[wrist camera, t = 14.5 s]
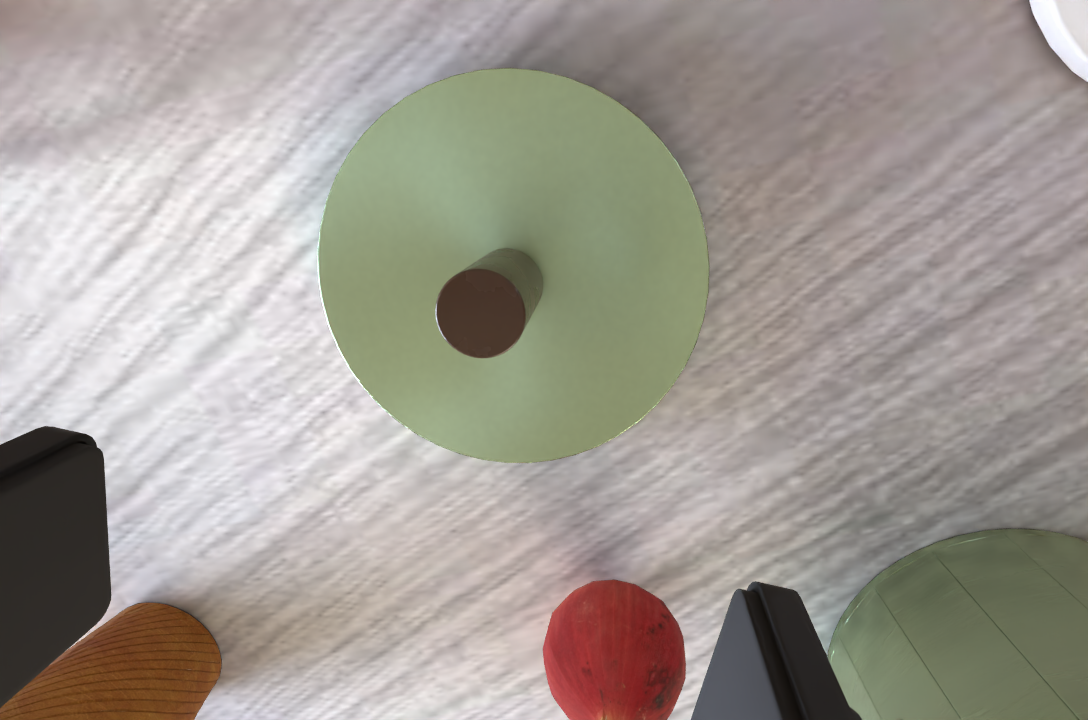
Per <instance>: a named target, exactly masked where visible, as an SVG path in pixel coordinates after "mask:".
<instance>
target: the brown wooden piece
mask: <svg viewBox="0 0 1088 720" xmlns="http://www.w3.org/2000/svg"><path fill="white" fill-rule="evenodd" d="M220 671H221V656H220V652H219V649H218V646H217V644H216V642H215V640H214V639H213V637H212V636H211V634H210V633H209V631H208V630H207V629H206V628H205V627H204V626H203V625H202V624H201V623H200V622H199V621H197V620H196V619H195V618H193V617H192V616H191V615H189V614H187V613H185V612H183V611H181V610H180V609H177V608H175V607H172V606H169V605H166V604H161V603H138V604H136V605H133V606H131V607H128V608H126V609H124V610H123V611H121V612H120V613H119V614H118V615H116V616H115V617H114V618H112V619H111V620H109V621H108V622H106V623H105V624H104V625H102V626H101V627H99V628H98V629H96V630H95V631H93V632H92V633H91V634H89V635H88V636H87V637H85V638H84V639H82V640H81V641H79V642H78V643H76V644H75V645H74V646H72V647H71V648H69V649H68V650H67V651H65V652H64V653H63V654H61V655H60V656H59V657H58V658H57V659H56V660H55V661H53V662H52V663H51V664H50V665H49V666H48V667H47V668H45V669H44V670H43V671H42V672H41V673H40V674H39V675H37V676H36V677H35V678H34V679H33V680H32V681H31V682H29V683H28V684H27V685H26V686H25V687H24V688H23V689H21V690H20V691H19V692H18V693H17V694H16V695H15V696H13V697H12V698H11V699H10V700H9V701H8V702H7V703H5V704H4V705H3V706H2V707H1V708H0V720H194V718H195V717H196V715H197V713H198V711H199V710H200V708H201V706H202V705H203V703H204V701H205V700H206V698H207V696H208V695H209V693H210V691H211V689H212V688H213V687H214V685H215V684H216V682H217V680H218V678H219V676H220Z"/></svg>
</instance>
